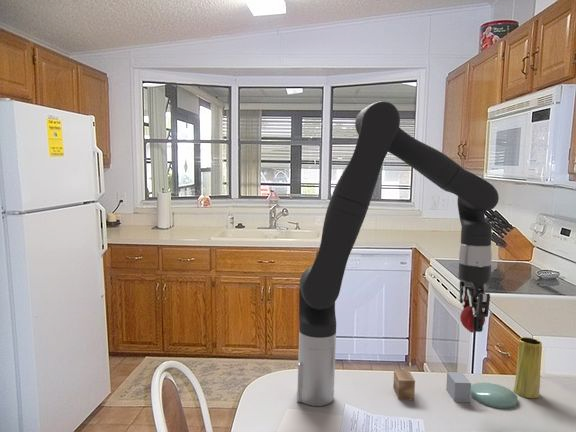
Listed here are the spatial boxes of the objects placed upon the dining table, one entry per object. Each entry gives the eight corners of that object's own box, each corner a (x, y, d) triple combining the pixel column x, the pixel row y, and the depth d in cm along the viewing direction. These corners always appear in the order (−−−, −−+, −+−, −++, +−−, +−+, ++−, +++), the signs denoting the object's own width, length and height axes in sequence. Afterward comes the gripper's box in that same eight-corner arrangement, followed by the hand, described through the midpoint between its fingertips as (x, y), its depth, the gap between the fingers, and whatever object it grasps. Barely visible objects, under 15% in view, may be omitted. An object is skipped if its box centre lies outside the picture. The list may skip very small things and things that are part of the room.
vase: (514, 395, 114) (518, 342, 113) (512, 385, 119) (516, 335, 118) (541, 400, 112) (545, 346, 110) (537, 390, 117) (541, 338, 116)
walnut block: (398, 399, 111) (399, 380, 110) (393, 387, 117) (394, 369, 116) (414, 399, 111) (415, 380, 110) (408, 388, 117) (409, 370, 116)
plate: (479, 407, 108) (480, 402, 107) (463, 386, 119) (463, 381, 118) (525, 409, 107) (525, 404, 107) (504, 387, 118) (505, 383, 118)
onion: (486, 337, 108) (488, 305, 108) (462, 335, 109) (463, 304, 109) (481, 329, 114) (482, 299, 113) (458, 327, 115) (459, 298, 114)
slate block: (453, 401, 110) (455, 382, 110) (446, 390, 116) (447, 372, 116) (469, 402, 110) (471, 383, 110) (461, 390, 116) (462, 372, 116)
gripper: (450, 256, 117) (448, 317, 119) (470, 267, 103) (468, 336, 105) (478, 256, 117) (476, 317, 119) (503, 267, 103) (499, 337, 104)
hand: (472, 326), depth 112 cm, fingers closed on onion, 6 cm apart
